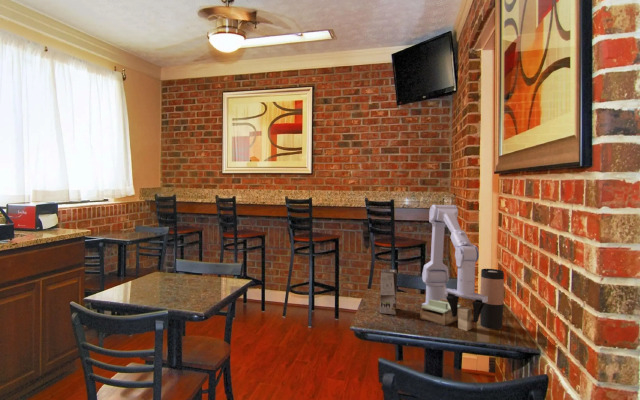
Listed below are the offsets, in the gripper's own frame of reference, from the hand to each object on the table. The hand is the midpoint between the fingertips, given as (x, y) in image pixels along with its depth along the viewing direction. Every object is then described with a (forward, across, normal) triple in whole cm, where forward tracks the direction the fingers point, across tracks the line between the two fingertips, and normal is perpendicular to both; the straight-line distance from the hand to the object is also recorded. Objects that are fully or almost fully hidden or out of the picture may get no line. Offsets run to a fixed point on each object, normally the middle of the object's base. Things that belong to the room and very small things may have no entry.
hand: (465, 318), depth 132 cm
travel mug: (+4, +5, +10) cm, 12 cm away
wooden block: (+3, 0, 0) cm, 4 cm away
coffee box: (+4, -30, -4) cm, 30 cm away
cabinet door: (-1, -11, +4) cm, 12 cm away
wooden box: (+3, -11, +4) cm, 12 cm away
